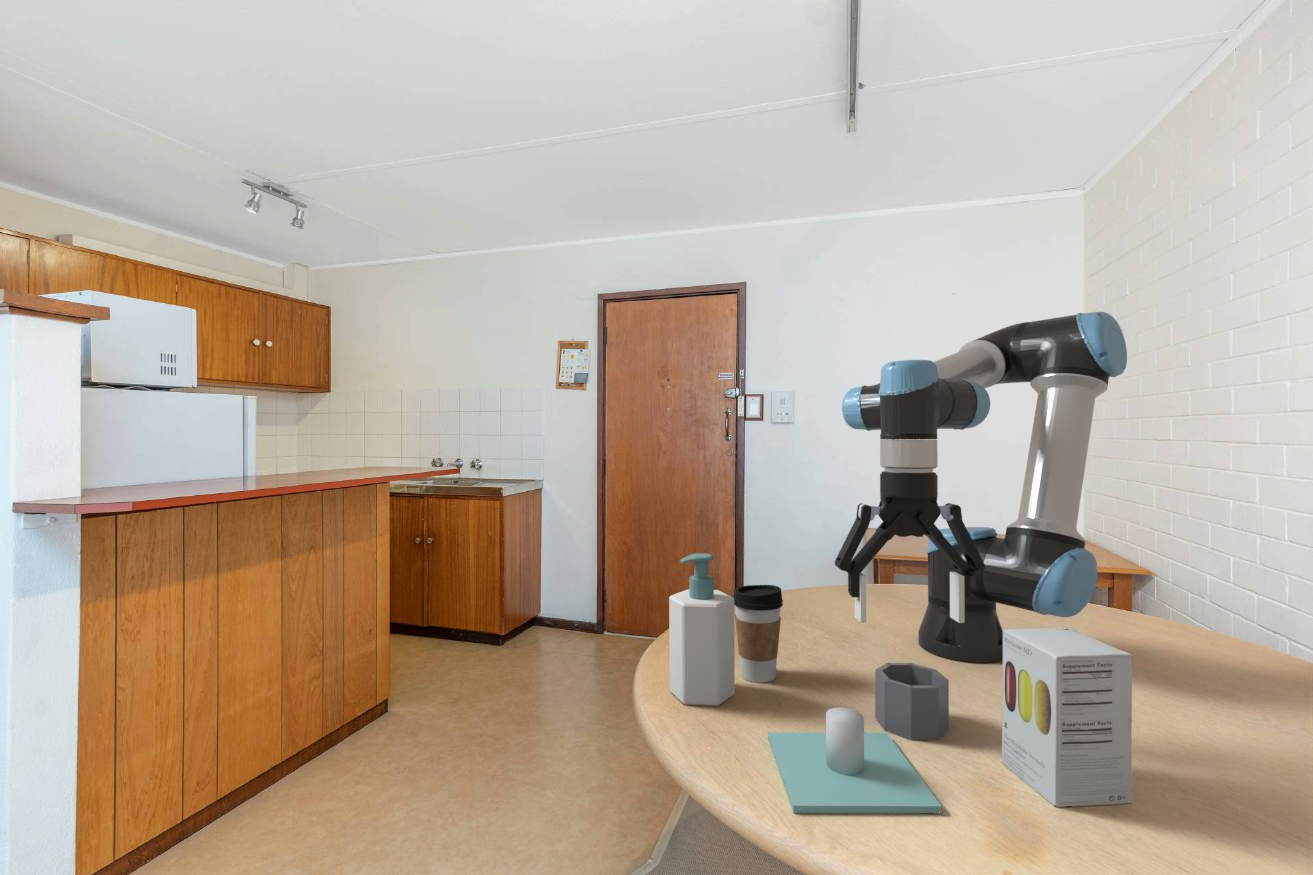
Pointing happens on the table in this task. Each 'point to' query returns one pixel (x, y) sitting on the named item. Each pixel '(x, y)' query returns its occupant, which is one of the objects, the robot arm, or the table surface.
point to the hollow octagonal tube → (912, 701)
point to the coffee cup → (758, 630)
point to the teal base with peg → (848, 770)
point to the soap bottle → (701, 639)
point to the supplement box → (1067, 716)
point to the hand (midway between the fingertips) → (908, 620)
